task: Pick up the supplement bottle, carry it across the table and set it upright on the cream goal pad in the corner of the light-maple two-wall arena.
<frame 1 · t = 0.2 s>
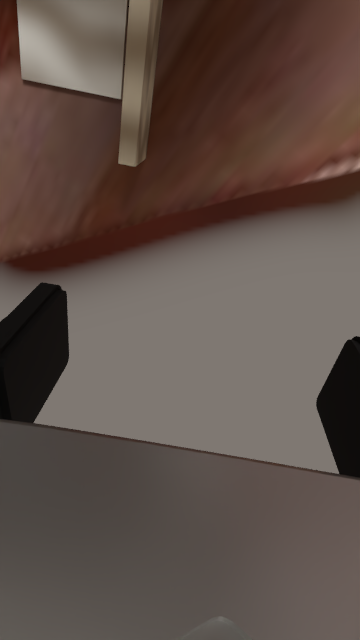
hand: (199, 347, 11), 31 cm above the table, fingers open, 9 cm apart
arena: (72, 25, 31), on the table
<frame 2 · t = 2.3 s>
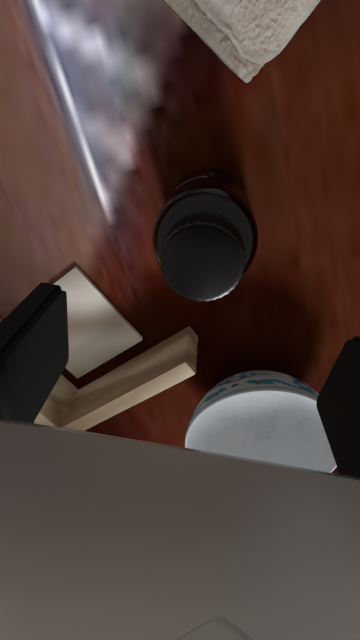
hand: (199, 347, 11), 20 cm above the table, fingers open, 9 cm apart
supplement bottle: (207, 210, 29), on the table
arena: (77, 326, 36), on the table
chinaware: (254, 391, 39), on the table
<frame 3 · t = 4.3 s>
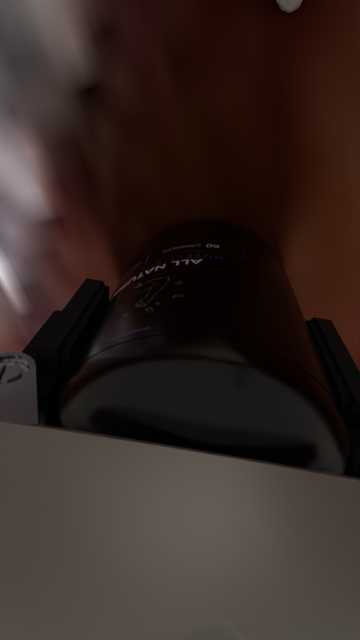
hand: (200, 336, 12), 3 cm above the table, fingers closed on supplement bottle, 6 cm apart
supplement bottle: (203, 293, 15), on the table, touching gripper
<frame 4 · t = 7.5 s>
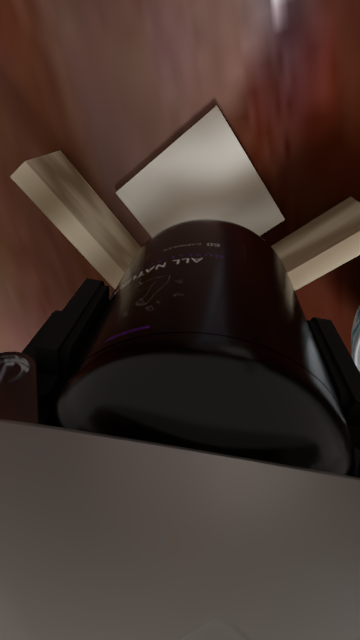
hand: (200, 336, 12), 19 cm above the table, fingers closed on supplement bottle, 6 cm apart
supplement bottle: (204, 292, 15), point 16 cm above the table, touching gripper
arena: (200, 204, 28), on the table
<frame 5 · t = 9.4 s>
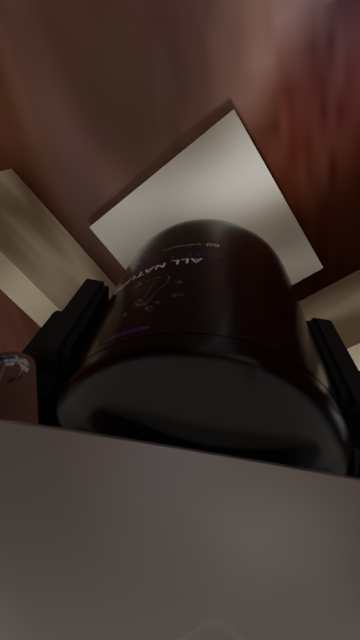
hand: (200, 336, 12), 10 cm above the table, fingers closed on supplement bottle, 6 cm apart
supplement bottle: (204, 292, 15), point 7 cm above the table, touching gripper
arena: (206, 245, 20), on the table
when the fingers open (5 cm above the table, at t = 10.9 s): supplement bottle drops 1 cm, resting on arena.
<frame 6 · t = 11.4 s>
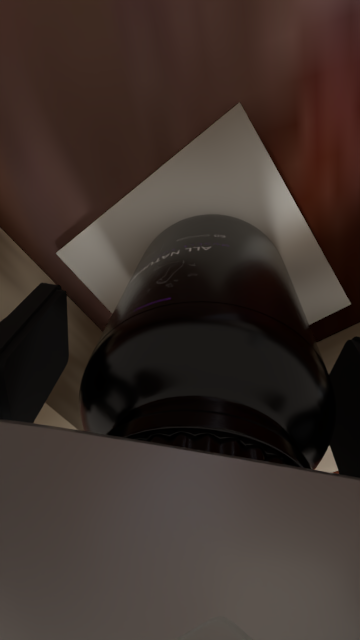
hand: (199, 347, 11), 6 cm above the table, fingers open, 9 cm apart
supplement bottle: (209, 281, 16), resting on arena
arena: (204, 275, 16), on the table
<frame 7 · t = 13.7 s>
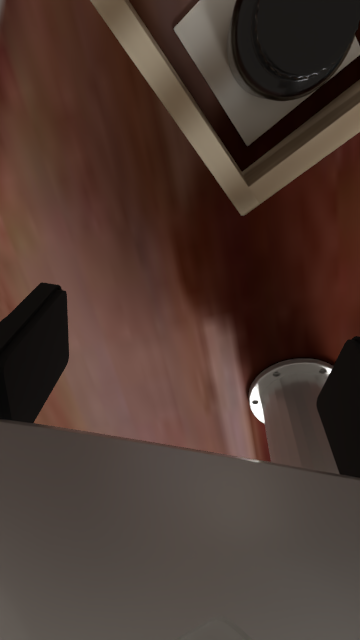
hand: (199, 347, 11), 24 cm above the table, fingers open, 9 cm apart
supplement bottle: (270, 44, 25), resting on arena
arena: (267, 41, 25), on the table
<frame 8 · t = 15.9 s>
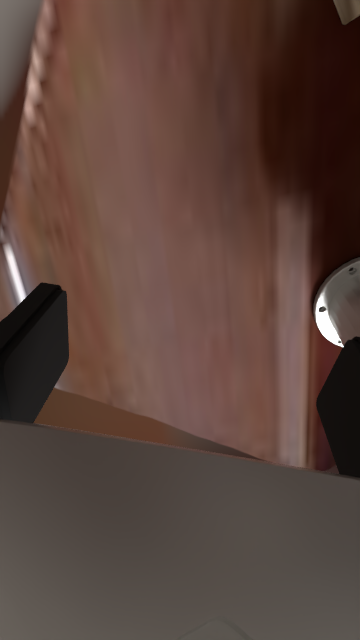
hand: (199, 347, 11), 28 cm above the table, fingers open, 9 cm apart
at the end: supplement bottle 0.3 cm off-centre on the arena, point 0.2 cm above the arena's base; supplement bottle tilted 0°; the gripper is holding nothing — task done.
